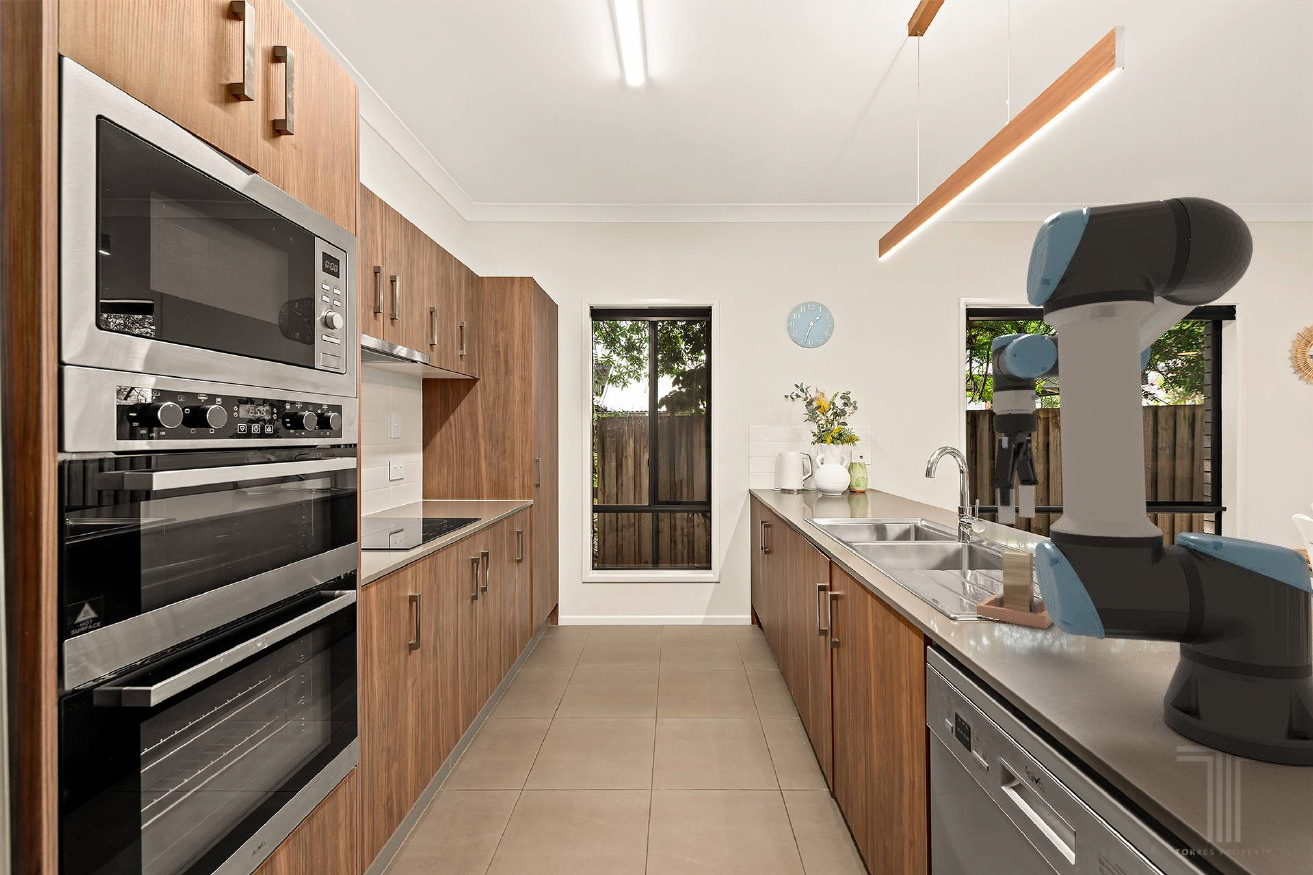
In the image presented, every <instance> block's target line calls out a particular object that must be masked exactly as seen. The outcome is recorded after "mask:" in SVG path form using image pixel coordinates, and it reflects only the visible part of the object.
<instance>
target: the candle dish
mask: <svg viewBox="0 0 1313 875" xmlns="http://www.w3.org/2000/svg"><path fill="white" fill-rule="evenodd" d="M977 615H982V616H985V617H991V618H993V619H999V620H1002V621H1006V622H1005V623H1008V622H1009V623H1008V624H1014V625H1015V624H1016V625H1021V626H1027V627H1033V628H1039V629H1045V630H1046V629H1047V628H1049V627H1050V626H1051V625H1052V624H1054V623H1053V622H1052V620H1051V618H1050V617H1049V615H1048V613H1047V610H1046V608H1045V605H1044V603H1043V600H1042V597H1041V598H1040V597H1038V598H1037V599H1034V602H1033V603H1032V612H1026V611H1019V610H1013V609H1006V608H1004V597H1003V592H1002V593H1000V594H997V593H995V594H994V595H991V596H990V597H988V598H986V599H985V600H983V601H981V602H980V603H978V604H976V616H977ZM1002 621H1001V622H1002Z"/></svg>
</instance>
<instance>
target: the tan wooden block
mask: <svg viewBox="0 0 1313 875" xmlns="http://www.w3.org/2000/svg"><path fill="white" fill-rule="evenodd" d="M1002 584H1003V585H1002V589H1003V591H1002V593H1003V597H1004V608H1006V609H1013V610H1019V611H1026V612H1032V603H1033V602H1034V600H1035V594H1034V593H1035V592H1034V585H1035V583H1034V554H1033V552H1028V551H1016V550H1006V551H1004V552H1002Z"/></svg>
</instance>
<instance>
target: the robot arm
mask: <svg viewBox="0 0 1313 875" xmlns="http://www.w3.org/2000/svg"><path fill="white" fill-rule="evenodd" d="M1034 239H1035V240H1034V242H1033V245H1032V249H1031V253H1030V258H1029V262H1028V269H1027V277H1026V294H1027V301H1028V303H1029V304H1030V305H1031V306H1034V307H1036V308H1037V307H1038V308H1039V307H1041V306H1042V311H1043V312H1042V313H1043V321H1044V323H1046V324H1047V325H1049V326H1050V327H1051V328H1053V329H1054V330H1055V331H1056V333H1057V335H1049V336H1047V335H1046V336H1045V335H1042V334H1038V333H1031V334H1028V333H1013V334H1005V335H1001V336H997V337H995V338H994V339H993V340H992V341H991V352H990V358H991V367H992V368H991V370H992V374H991V375H992V411H993V412H994V413H995V414H994V416H993V431H994V433H995V434H1003V437H998V439H997V454H996V461H995V470H994V477H993V483H992V485H991V486H992V489H995V490H997V512H998V515H997V516H998V523H999V524H1010V525H1011V524H1012V525H1015V524H1016V502H1015V501H1016V498H1015V495H1016V494H1015V493H1016V492H1015V489H1014V482H1015V477H1016V474H1017V477H1018V480H1019V485H1018V516H1019V518H1030V519H1032V518H1036V511H1035V510H1036V506H1035V504H1036V503H1035V486H1039V484H1040V481H1039V480H1038V477H1037V476H1038V475H1037V471H1036V465H1035V458H1034V452H1033V442H1032V441H1033V439H1032V438H1031V437H1027V435H1026V434H1031V433H1032V434H1033V433H1036V432H1037V431H1038V424H1037V420H1038V419H1037V418H1038V416H1037V415H1038V414H1037V415H1036V414H1035V413H1033V412H1034V411H1035V412H1036V410H1037V401H1039V399H1040V396H1039V395H1037V394H1036V390H1037V389H1036V379H1043V378H1044V379H1045V378H1046V379H1047V378H1058V385H1059V386H1058V388H1059V415H1060V416H1059V420H1060V421H1059V422H1060V449H1061V451H1060V452H1061V453H1060V454H1061V479H1062V480H1061V481H1062V482H1061V483H1062V484H1061V486H1062V514H1061V516H1060V518H1058V519H1057V520H1056V521H1055V522H1053V523H1052V524H1051V525H1050V526H1049V530H1050V531H1049V532H1050V533H1049V534H1050V539H1049V540H1047V539H1046V540H1045V539H1044V540H1043V541H1039V542H1038V544H1036V546H1035V550H1034V552H1035V556H1034V568H1035V574H1036V580H1037V585H1038V589H1039V593H1040V596H1041V599H1042V600H1043V603H1044V605H1045V608H1046V610H1047V613H1048V615H1049V617H1050V618H1051V620H1052V622H1053V623H1052V624H1054V626H1055V627H1056V628H1057V629H1059V630H1060V631H1061V632H1063V633H1065V634H1068V635H1072V636H1080V637H1081V636H1082V637H1088V638H1090V637H1091V638H1095V639H1097V640H1105V639H1115V640H1130V641H1146V642H1147V641H1149V642H1162V643H1163V642H1164V643H1165V642H1166V643H1178V644H1179V660H1178V663H1177V665H1176V667H1175V670H1174V673H1173V674H1172V678H1171V680H1170V682H1169V685H1168V687H1167V689H1166V692H1165V693H1164V694H1165V695H1164V696H1163V701H1162V705H1163V706H1162V707H1163V710H1162V711H1163V720H1164V722H1165V723H1166V724H1167V725H1168V726H1169V727H1170V728H1172V730H1174V731H1175V732H1177V733H1178V734H1180V735H1182V736H1184V737H1186V738H1189V739H1190V740H1193V741H1195V742H1198V743H1199V744H1202V745H1205V746H1207V747H1210V748H1213V749H1216V750H1219V751H1223V752H1226V753H1229V754H1233V755H1237V756H1240V757H1245V758H1249V759H1253V760H1259V761H1264V762H1270V763H1278V764H1284V765H1295V766H1297V765H1298V766H1299V765H1300V766H1313V610H1312V595H1313V587H1312V578H1311V573H1310V567H1309V563H1308V561H1307V558H1306V557H1305V556H1304V555H1303V554H1302V553H1300V552H1298V551H1296V550H1295V549H1291V548H1287V547H1285V546H1281V545H1276V544H1270V543H1267V542H1260V541H1255V540H1249V539H1242V538H1238V537H1237V538H1236V537H1231V536H1225V535H1224V536H1223V535H1216V534H1207V533H1199V532H1179V533H1178V534H1177V536H1176V538H1175V539H1174V543H1175V544H1164V535H1163V530H1161V528H1159V527H1158V526H1156V525H1155V523H1153V522H1152V521H1151V520H1150V519H1149V518H1148V517H1147V501H1146V500H1147V499H1146V498H1147V497H1146V470H1145V444H1144V442H1145V440H1144V419H1143V418H1144V416H1143V413H1144V412H1143V390H1142V389H1143V388H1142V387H1143V386H1142V371H1144V370H1145V369H1147V366H1148V363H1149V361H1150V358H1151V352H1152V351H1151V345H1153V344H1154V343H1155V342H1157V340H1159V339H1160V338H1161V337H1162V336H1163V335H1165V334H1166V333H1167V332H1168V331H1169V330H1171V329H1172V328H1173V327H1174V326H1175V325H1177V324H1178V323H1179V322H1180V321H1181V320H1182V319H1184V318H1185V317H1186V316H1187V315H1189V314H1190V313H1191V312H1193V310H1194V309H1196V308H1197V307H1201V306H1205V305H1209V304H1211V303H1212V302H1215V301H1216V300H1219V299H1220V298H1221V297H1223V296H1224V295H1225V294H1227V293H1228V292H1229V291H1230V290H1232V288H1234V287H1235V286H1236V285H1237V284H1238V282H1240V280H1241V279H1242V278H1243V277H1244V275H1245V274H1246V272H1247V270H1248V268H1249V266H1250V264H1251V261H1252V256H1253V251H1254V244H1253V243H1254V242H1253V236H1252V234H1251V231H1250V228H1249V227H1248V225H1247V223H1246V222H1245V220H1244V219H1243V218H1242V217H1241V216H1240V215H1239V213H1237V212H1235V211H1234V210H1233V209H1232V208H1230V207H1228V206H1227V205H1225V204H1223V203H1220V202H1219V201H1215V200H1213V199H1209V198H1205V197H1196V196H1184V197H1175V198H1174V197H1173V198H1169V199H1161V200H1151V201H1142V202H1141V201H1140V202H1131V203H1120V204H1113V205H1112V204H1111V205H1101V206H1091V207H1090V206H1084V207H1082V208H1081V209H1080V208H1079V209H1072V210H1069V211H1068V210H1066V211H1061V212H1056V213H1055V214H1052V215H1051V216H1049V217H1048V218H1047V219H1046V220H1045V221H1044V222H1043V223H1042V224H1041V226H1040V227H1039V229H1038V232H1037V234H1036V236H1035V238H1034Z"/></svg>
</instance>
